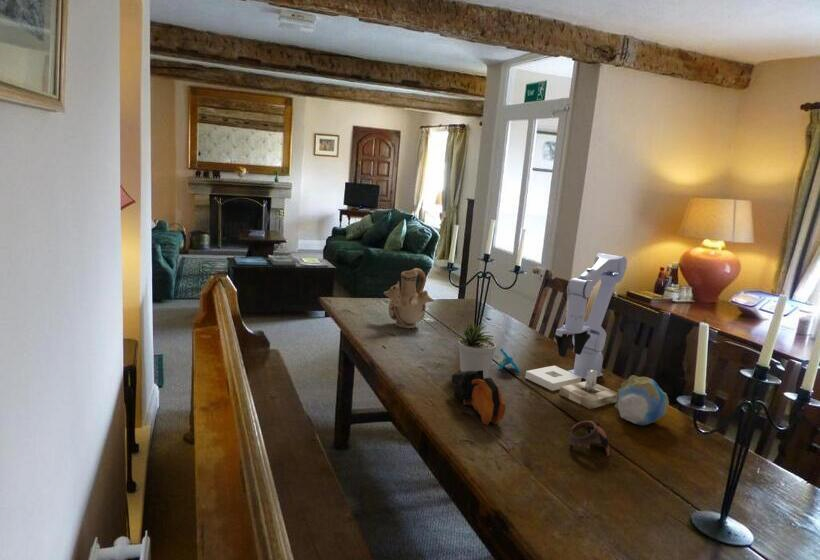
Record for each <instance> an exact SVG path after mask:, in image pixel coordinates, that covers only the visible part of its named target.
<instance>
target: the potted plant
mask: <svg viewBox="0 0 820 560" xmlns="http://www.w3.org/2000/svg"><path fill="white" fill-rule="evenodd" d="M466 321H467V326H466V329H465V328H464V327H462V326H461V325H459V327H460V328H461V329H462V331H463V335H464V336H465V337H463V336H461V335H459V334H456V336H457V337H458V338H460V339H458V338H457V337H456V338H455V337H454V339H455V340H457V343H458V349H459V367H460V370H459V371H461V372H463V371H483V377H484V378H483V379H485V378H488V375H489V372H490V369H491V368H490V367H491V365H492V361H493V357H494V354H495V351H496V348H497V343H495V342H494V339H493V335H488V334H487V333H489V334H490V333H492V332H491V331H483V332H482V330H484V328H485V329H486V327H487V325H486V324H485V325H483V323H481V324H479V325H478V326H477V325H476V323H475V324H473V320H471V321H469V320H468V319H467V320H466ZM473 325H474V326H473ZM476 326H477V327H476ZM485 333H486V334H487V335H486V334H485Z"/></svg>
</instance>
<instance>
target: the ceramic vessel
mask: <svg viewBox="0 0 820 560" xmlns="http://www.w3.org/2000/svg"><path fill="white" fill-rule="evenodd" d="M418 276H419V282H418V286H417V288H416V285H417V280H418V279H417V278H418ZM400 278H401V286H400V281H399V280H397V283H396V284H395V285H394V284H393V286H391V287H390V288H389V290H387V291H386V290H385V291H384V292H383V295H384V296H386V297H387V298H388V299H389V303H388V310H387V311H388V315H389V317H390V318H391V319H392V320H393V321H395V326H396V325H397V327H398V326H399V328H402V327H404V329H410V328H412V329H414V327H415V328H416V326H417V323H419V322H422V320H423V319H424V316H425V313H426V307H427V305H426V304H427V303H431V302H434V301H435V299H434V298H433V297H431V296H430V295H429V293H428V290H424V288H425V285H426V281H427V280H426V279H427V276H426V274H425V272H424V271H423V270H422V269H421V268H417V267H416V268H415V267H414V268H413V269H411V270H404V271H402V272H401V273H400Z"/></svg>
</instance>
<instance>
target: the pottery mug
mask: <svg viewBox="0 0 820 560" xmlns="http://www.w3.org/2000/svg"><path fill="white" fill-rule="evenodd" d="M581 428H585V430H586V432H587V433H588V434H586V435H584V436H576V435H574V434H575V433H576V432H577V431H578V430H580V429H581ZM568 434H569V441H568V443H569V444H570V446H573V447H575V448H577V447H578V448H582V447H583V448H584V447H585V448H587V449H589V450H591V447H590V446H591V442H593V443H597V444H599V447H602V448H604V449H605V452H606V457H609V456H610V454H611V450H610V442H609V437H608V435H607V433H606V432H605V431H604V429H603V428H601V426H600V422H599V420H597V419H591V420H583V421H579V422H577V423H576V424H574V425H572V427H571V430H570V431H569V433H568Z"/></svg>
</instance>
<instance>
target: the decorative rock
mask: <svg viewBox="0 0 820 560" xmlns="http://www.w3.org/2000/svg"><path fill="white" fill-rule="evenodd" d="M620 384H621V386H620V388H618V389H617V395H616V399H617V402H615V405H614V408H615V409H616V410H618V412H619V416H620V417H621V418H622V419H624V420H625V421H628V422H630V423H631V424H632V423H633V424H635V425H638V426H648V425H651V424H652V423H655V422H657V421H658V419H660V418H663V417H665V416H666V415H667V412H668V409H669V406H670V401H669V396H668V394H667V392H664V390H663V389H662V388H661V387H660V386H659V384H658V382H656V381H655V380H654V379H653V378H650V377H647V376H637V375H630V376H629V377H628V379H626V380H624V381H623V382H622V383H620Z"/></svg>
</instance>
